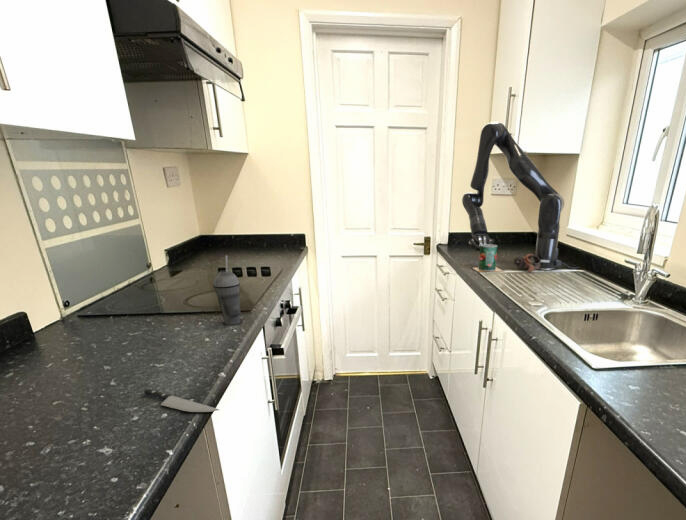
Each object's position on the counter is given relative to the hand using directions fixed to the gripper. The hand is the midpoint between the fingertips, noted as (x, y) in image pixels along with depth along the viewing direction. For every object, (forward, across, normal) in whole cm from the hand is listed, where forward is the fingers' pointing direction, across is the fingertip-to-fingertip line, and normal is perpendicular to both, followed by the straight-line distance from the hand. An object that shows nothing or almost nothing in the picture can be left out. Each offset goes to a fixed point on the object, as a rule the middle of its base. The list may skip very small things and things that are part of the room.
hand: (484, 257), depth 194 cm
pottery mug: (+10, +17, -3) cm, 20 cm away
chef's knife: (+82, -101, -76) cm, 151 cm away
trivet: (+7, 0, 0) cm, 7 cm away
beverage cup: (+48, -101, -42) cm, 120 cm away
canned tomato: (+7, 0, 0) cm, 7 cm away
